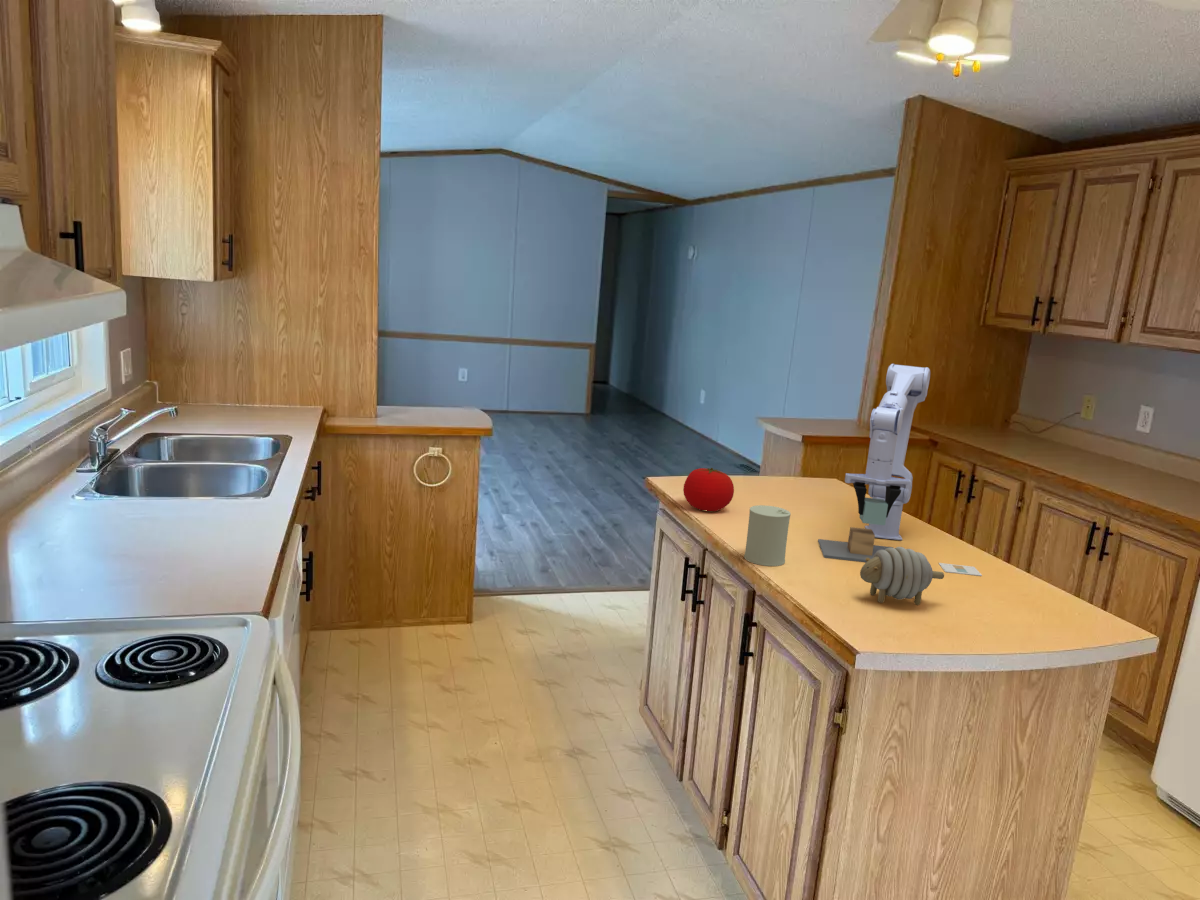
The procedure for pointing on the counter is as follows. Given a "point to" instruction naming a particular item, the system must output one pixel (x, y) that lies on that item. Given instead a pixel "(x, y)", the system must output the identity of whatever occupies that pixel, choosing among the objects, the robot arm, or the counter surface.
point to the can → (767, 535)
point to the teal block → (874, 511)
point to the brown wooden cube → (861, 541)
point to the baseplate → (844, 551)
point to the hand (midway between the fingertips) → (872, 515)
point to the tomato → (708, 489)
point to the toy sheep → (898, 574)
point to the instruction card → (960, 569)
